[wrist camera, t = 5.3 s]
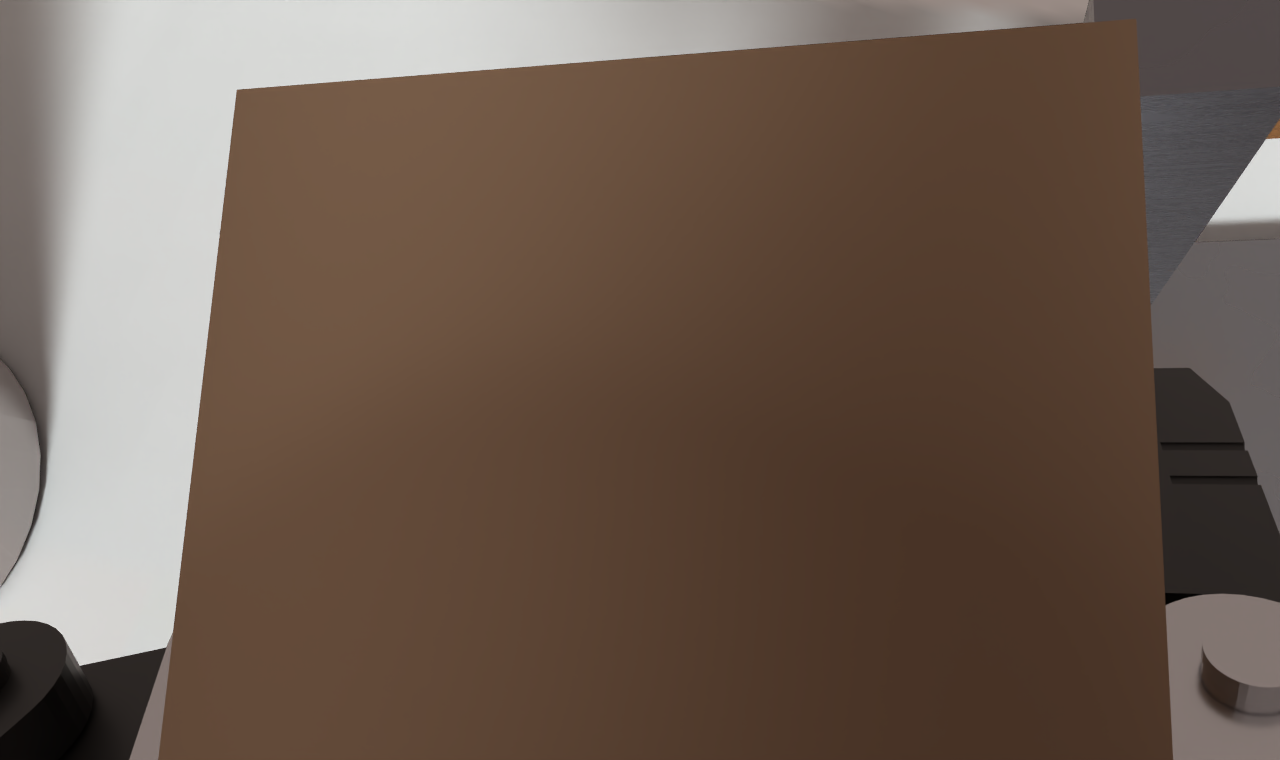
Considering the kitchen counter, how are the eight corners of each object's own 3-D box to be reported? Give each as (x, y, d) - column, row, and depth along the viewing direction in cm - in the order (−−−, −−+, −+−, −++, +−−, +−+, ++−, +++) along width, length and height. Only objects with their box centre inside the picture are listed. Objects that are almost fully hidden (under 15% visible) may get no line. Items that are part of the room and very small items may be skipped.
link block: (643, 764, 15) (130, 998, 5) (656, 416, 16) (236, 89, 6) (1012, 790, 14) (1191, 1145, 4) (1005, 414, 15) (1135, 17, 5)
